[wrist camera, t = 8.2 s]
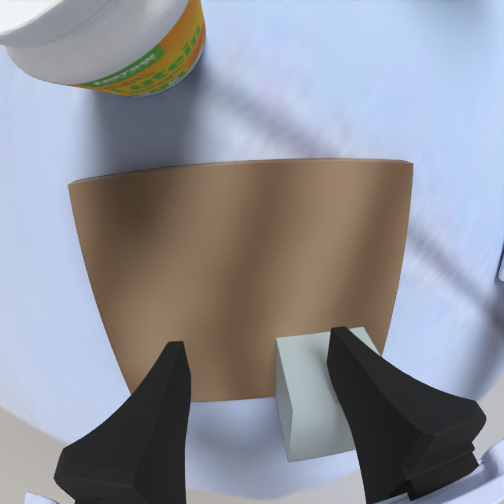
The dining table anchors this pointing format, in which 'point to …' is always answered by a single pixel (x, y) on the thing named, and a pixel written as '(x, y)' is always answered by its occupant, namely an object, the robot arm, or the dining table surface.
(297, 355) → the pale blue-gray cube
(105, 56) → the supplement bottle
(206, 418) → the dining table surface
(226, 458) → the dining table surface
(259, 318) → the brown wooden board
